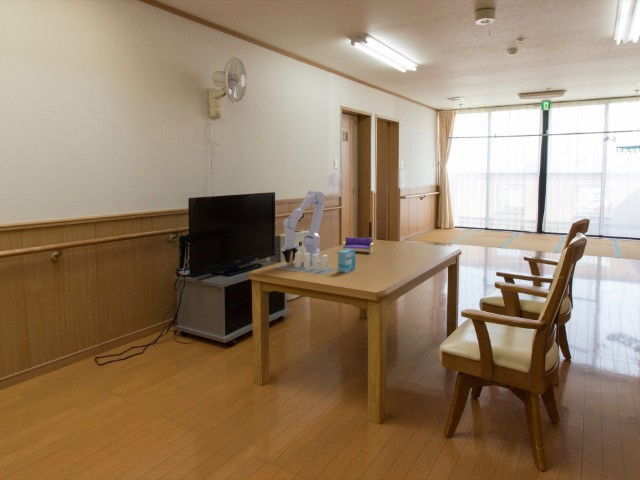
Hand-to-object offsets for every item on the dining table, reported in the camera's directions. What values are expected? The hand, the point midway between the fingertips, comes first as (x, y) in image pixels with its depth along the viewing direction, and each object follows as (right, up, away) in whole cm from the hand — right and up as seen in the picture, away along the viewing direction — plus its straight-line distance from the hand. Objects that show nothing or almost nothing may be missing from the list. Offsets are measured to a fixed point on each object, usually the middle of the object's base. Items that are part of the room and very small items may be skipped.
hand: (289, 261), depth 272 cm
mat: (+10, -4, -7) cm, 12 cm away
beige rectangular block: (+5, -3, -3) cm, 6 cm away
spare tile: (0, -2, 0) cm, 2 cm away
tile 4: (+15, -4, -9) cm, 18 cm away
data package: (+33, -5, -12) cm, 36 cm away
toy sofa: (+44, +4, +47) cm, 65 cm away
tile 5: (+21, -4, -12) cm, 24 cm away
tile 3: (+10, -3, -6) cm, 12 cm away
